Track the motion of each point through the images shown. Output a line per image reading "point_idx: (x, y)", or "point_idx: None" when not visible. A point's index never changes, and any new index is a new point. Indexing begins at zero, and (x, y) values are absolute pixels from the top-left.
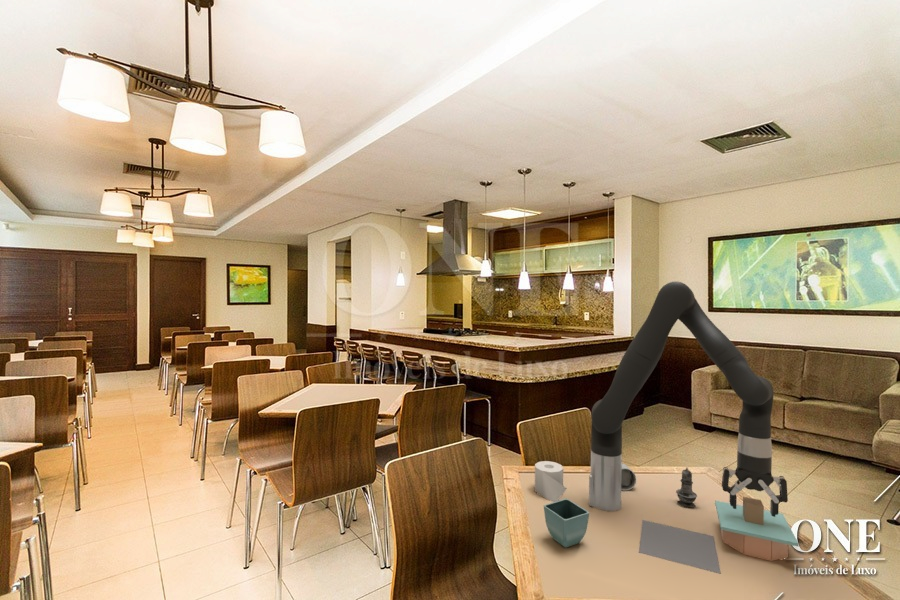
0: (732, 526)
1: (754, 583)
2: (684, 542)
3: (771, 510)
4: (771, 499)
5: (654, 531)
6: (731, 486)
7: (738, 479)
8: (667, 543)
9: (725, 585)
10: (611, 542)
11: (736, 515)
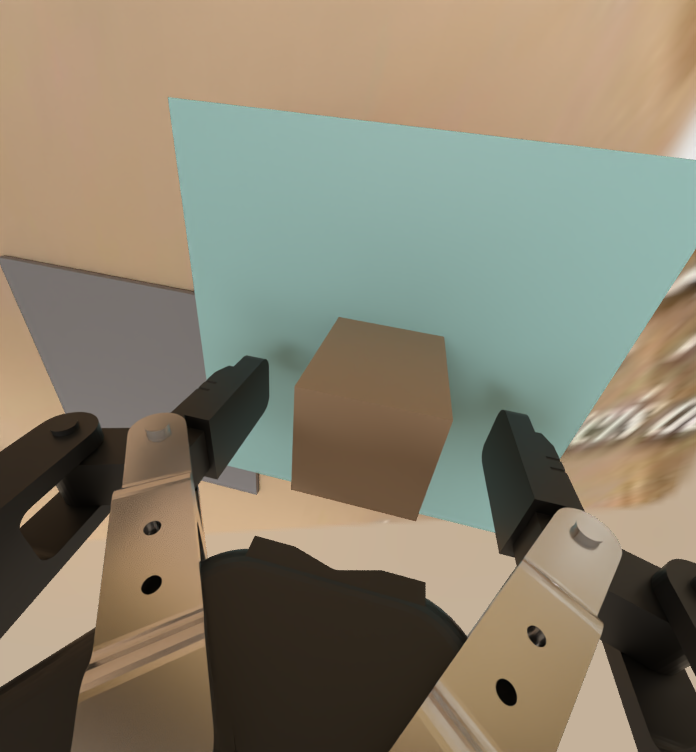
0: (262, 454)
1: (330, 503)
2: (161, 380)
3: (494, 462)
4: (541, 503)
5: (66, 336)
6: (126, 458)
7: (109, 567)
8: (121, 397)
9: (265, 514)
10: (15, 411)
11: (298, 339)
